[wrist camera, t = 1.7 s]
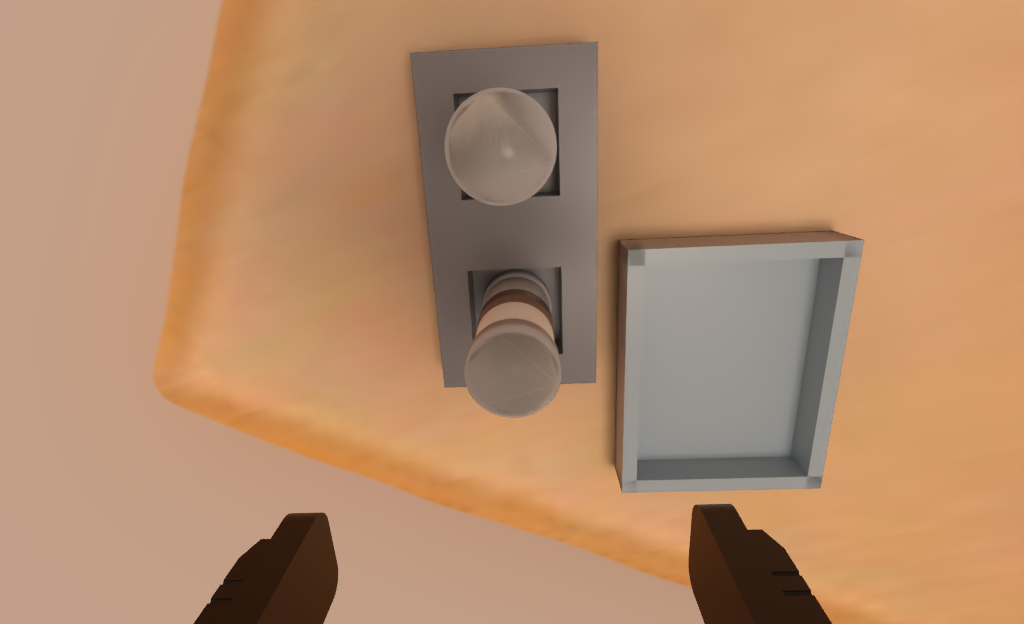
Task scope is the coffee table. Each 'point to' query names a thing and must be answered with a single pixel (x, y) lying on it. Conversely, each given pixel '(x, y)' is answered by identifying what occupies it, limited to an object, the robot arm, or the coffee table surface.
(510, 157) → the fuse
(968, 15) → the coffee table surface
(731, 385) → the parts tray
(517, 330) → the cylinder
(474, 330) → the fuse block
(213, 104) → the coffee table surface
